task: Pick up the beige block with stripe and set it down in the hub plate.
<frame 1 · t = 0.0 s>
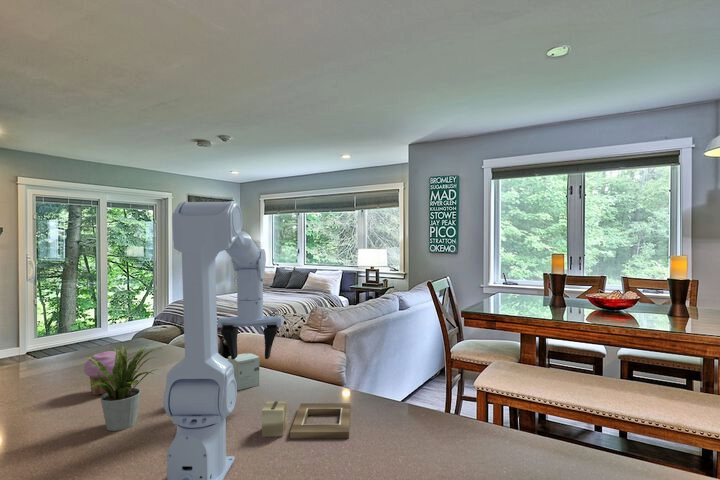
hand: (250, 358, 92), 10 cm above the kitchen counter, tool pointing down, fingers open, 7 cm apart
house plant: (127, 426, 81), on the kitchen counter
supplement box: (202, 399, 94), on the kitchen counter
cupcake: (106, 392, 99), on the kitchen counter
hub plate: (322, 422, 81), on the kitchen counter
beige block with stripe: (274, 431, 78), on the kitchen counter
skincare box: (243, 385, 103), on the kitchen counter
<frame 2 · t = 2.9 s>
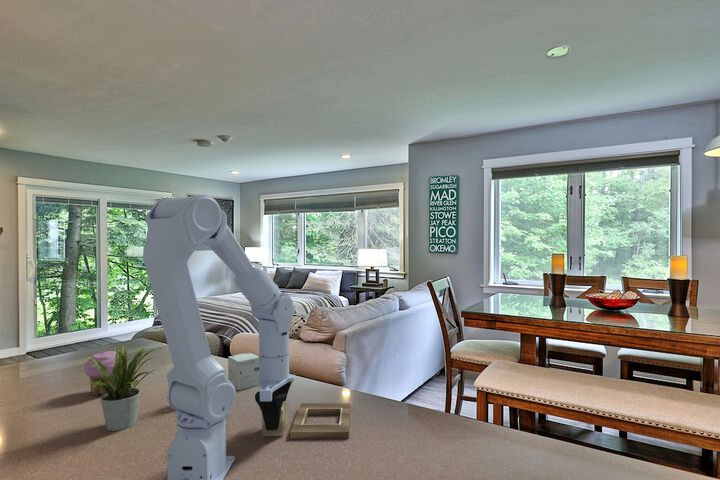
hand: (274, 423, 78), 1 cm above the kitchen counter, tool pointing down, fingers closed on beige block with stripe, 4 cm apart
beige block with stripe: (274, 431, 78), on the kitchen counter, touching gripper
everything else where it was.
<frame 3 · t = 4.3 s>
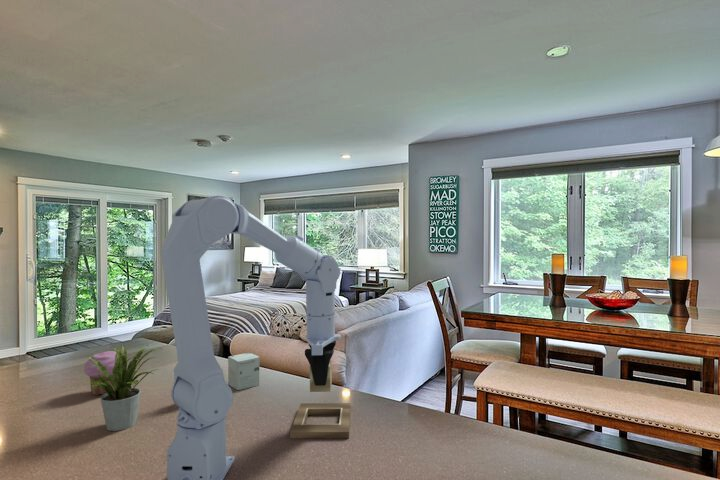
hand: (321, 380, 81), 8 cm above the kitchen counter, tool pointing down, fingers closed on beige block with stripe, 4 cm apart
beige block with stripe: (321, 387, 81), point 7 cm above the kitchen counter, touching gripper
everything else where it was.
when the fingers open (3 cm above the kitchen counter, at t = 5.8 s): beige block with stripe drops 1 cm, resting in hub plate.
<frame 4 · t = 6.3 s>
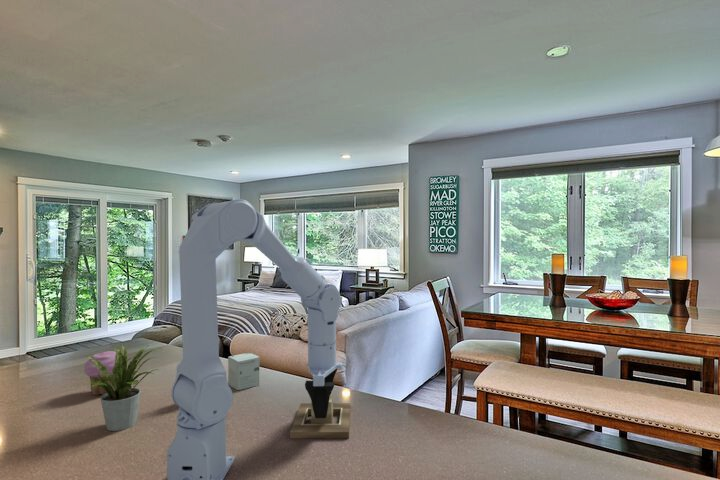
hand: (322, 409, 81), 3 cm above the kitchen counter, tool pointing down, fingers open, 7 cm apart
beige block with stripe: (322, 422, 81), resting in hub plate
everything else where it was.
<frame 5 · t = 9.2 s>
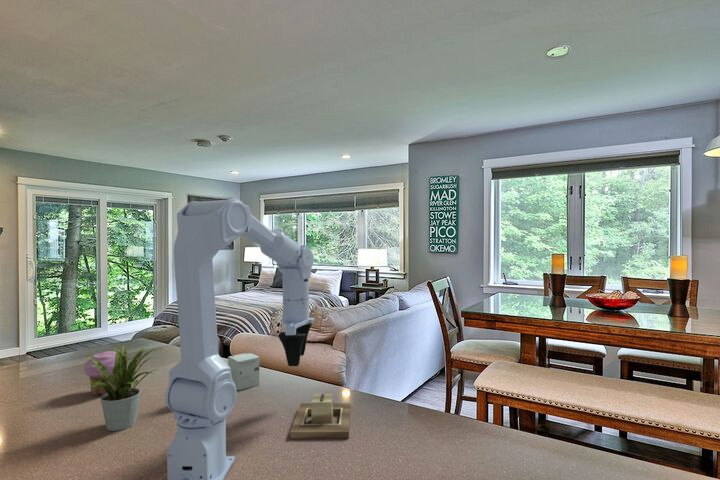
hand: (296, 360, 89), 10 cm above the kitchen counter, tool pointing down, fingers open, 7 cm apart
nothing on the kitchen counter moved.
at the end: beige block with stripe 0.1 cm from the target spot, resting in hub plate; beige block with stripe tilted 0°; the gripper is holding nothing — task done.
